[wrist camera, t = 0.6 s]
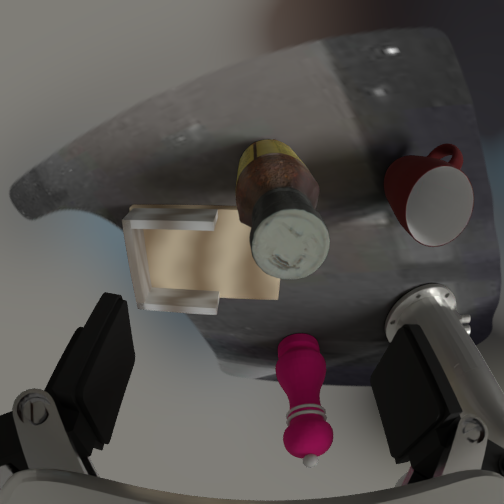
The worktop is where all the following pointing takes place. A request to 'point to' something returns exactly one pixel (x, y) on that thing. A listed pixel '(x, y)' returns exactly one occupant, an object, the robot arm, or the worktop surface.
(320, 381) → the pepper mill
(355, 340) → the worktop surface
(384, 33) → the worktop surface
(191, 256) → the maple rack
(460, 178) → the mug
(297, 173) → the sauce bottle
